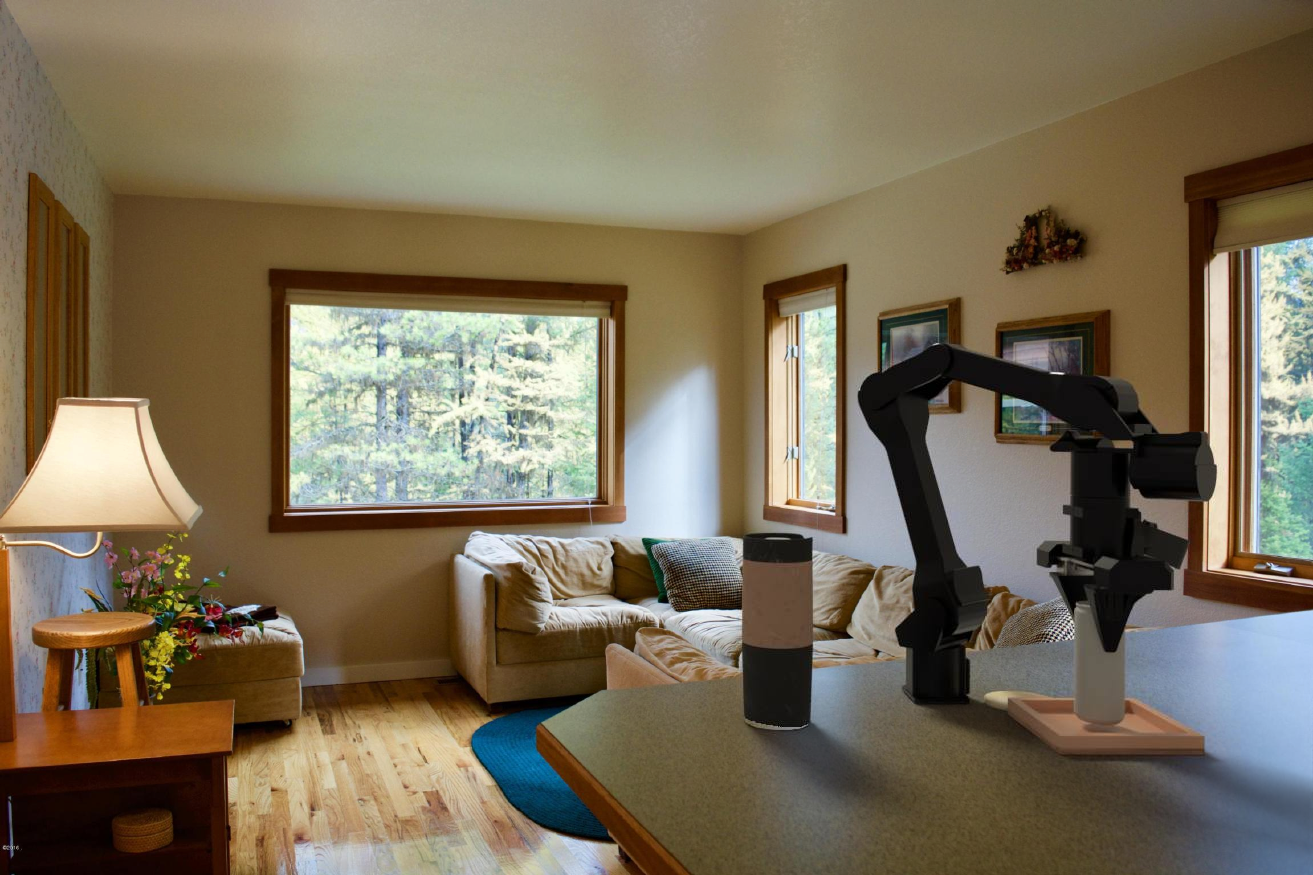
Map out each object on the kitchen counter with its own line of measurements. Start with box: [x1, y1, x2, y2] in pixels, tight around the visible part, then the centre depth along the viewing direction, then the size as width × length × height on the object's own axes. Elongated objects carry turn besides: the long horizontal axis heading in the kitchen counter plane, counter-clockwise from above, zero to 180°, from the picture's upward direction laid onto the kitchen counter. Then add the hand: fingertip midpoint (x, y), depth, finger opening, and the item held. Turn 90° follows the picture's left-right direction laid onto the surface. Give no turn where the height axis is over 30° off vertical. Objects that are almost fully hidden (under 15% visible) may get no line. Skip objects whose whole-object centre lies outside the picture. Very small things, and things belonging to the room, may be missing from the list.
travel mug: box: [741, 532, 814, 727], centre depth 106 cm, size 8×8×20 cm
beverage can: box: [1073, 601, 1126, 725], centre depth 102 cm, size 5×5×12 cm
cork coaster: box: [983, 690, 1052, 712], centre depth 113 cm, size 8×8×1 cm
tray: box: [1007, 697, 1206, 756], centre depth 102 cm, size 14×14×2 cm
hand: (1098, 646), depth 102 cm, fingers closed on beverage can, 5 cm apart
